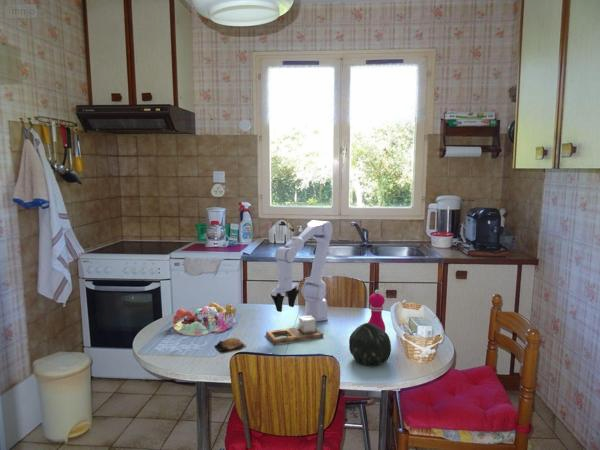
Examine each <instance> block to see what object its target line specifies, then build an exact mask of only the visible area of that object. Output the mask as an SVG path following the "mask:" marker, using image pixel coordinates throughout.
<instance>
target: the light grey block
mask: <svg viewBox="0 0 600 450" xmlns="http://www.w3.org/2000/svg"><path fill="white" fill-rule="evenodd" d="M298 321H299V322H298V323H299V324H298V325H299V326H298V327H299V332H300V333H301V334H302V335H306V334H312V333H315V327H316V322H315V318H313V317H312V316H311V315H309V316H305V315H302V316H299V317H298Z"/></svg>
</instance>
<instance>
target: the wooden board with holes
mask: <svg viewBox="0 0 600 450" xmlns="http://www.w3.org/2000/svg"><path fill="white" fill-rule="evenodd" d="M265 335H266V337H267V338H268V340H270V342H271V343H272V344H273V345H274V346H275V345H276V346H277V345H284V344H289V343H296V342H303V341H304V342H305V341H309V340H316V339H324V333H323V332H322V331H320V330H319V328H317V327H316V326H315V333H312V334H306V335H302V334H301V333H300V332H299V326H296V327H290V328H283V329H276V330H268V331H265ZM283 335H287V336H284V337H278V336H283ZM276 336H277V338H276Z"/></svg>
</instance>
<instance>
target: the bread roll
mask: <svg viewBox="0 0 600 450" xmlns="http://www.w3.org/2000/svg"><path fill="white" fill-rule="evenodd" d="M214 348H215V349H216V350H217V352H219V353H221V354H225V353H226V354H227V353H229V352H234V351H238V350H241V349H245V348H247V345H246V344H245V343H244V342H242V341H241V340H240V339H239V338H237V337H231V338H227V339H224V340H219V342H218V343H217V344H216V345H214Z"/></svg>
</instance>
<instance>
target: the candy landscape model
mask: <svg viewBox="0 0 600 450" xmlns="http://www.w3.org/2000/svg"><path fill="white" fill-rule="evenodd" d="M232 306H233V304H232V303H227V304H225V308H224V307H223V306H220V305H219V304H218V303H216V302H210V303H209V305H204V306H203V307H202V308H197V309H196V310H195V312H194V314H193V312H192V311H191V310H186V309H184V308H178V309H177V310H176V312H175V314H174V316H173V320H172V324H173V330H175V332H178V333H179V334H182V335H185V336H194V337H195V336H196V337H200V336H206V335H208V334H211V333H220V332H224V331H226V330H227V331H228V330H229V329H231V328H233V327H235V324H236V322H237V321H236V319H235V318H234V317H235V315H236V313H237V307H235V308H234V307H232ZM182 319H183V320H182Z"/></svg>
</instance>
